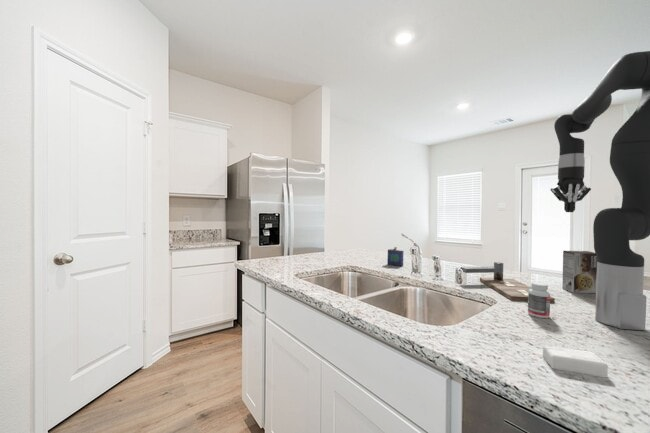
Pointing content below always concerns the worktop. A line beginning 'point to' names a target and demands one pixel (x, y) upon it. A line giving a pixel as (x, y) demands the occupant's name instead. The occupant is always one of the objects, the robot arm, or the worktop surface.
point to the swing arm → (487, 270)
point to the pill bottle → (539, 300)
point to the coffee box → (579, 271)
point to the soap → (575, 361)
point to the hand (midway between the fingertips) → (569, 212)
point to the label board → (510, 288)
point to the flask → (395, 257)
